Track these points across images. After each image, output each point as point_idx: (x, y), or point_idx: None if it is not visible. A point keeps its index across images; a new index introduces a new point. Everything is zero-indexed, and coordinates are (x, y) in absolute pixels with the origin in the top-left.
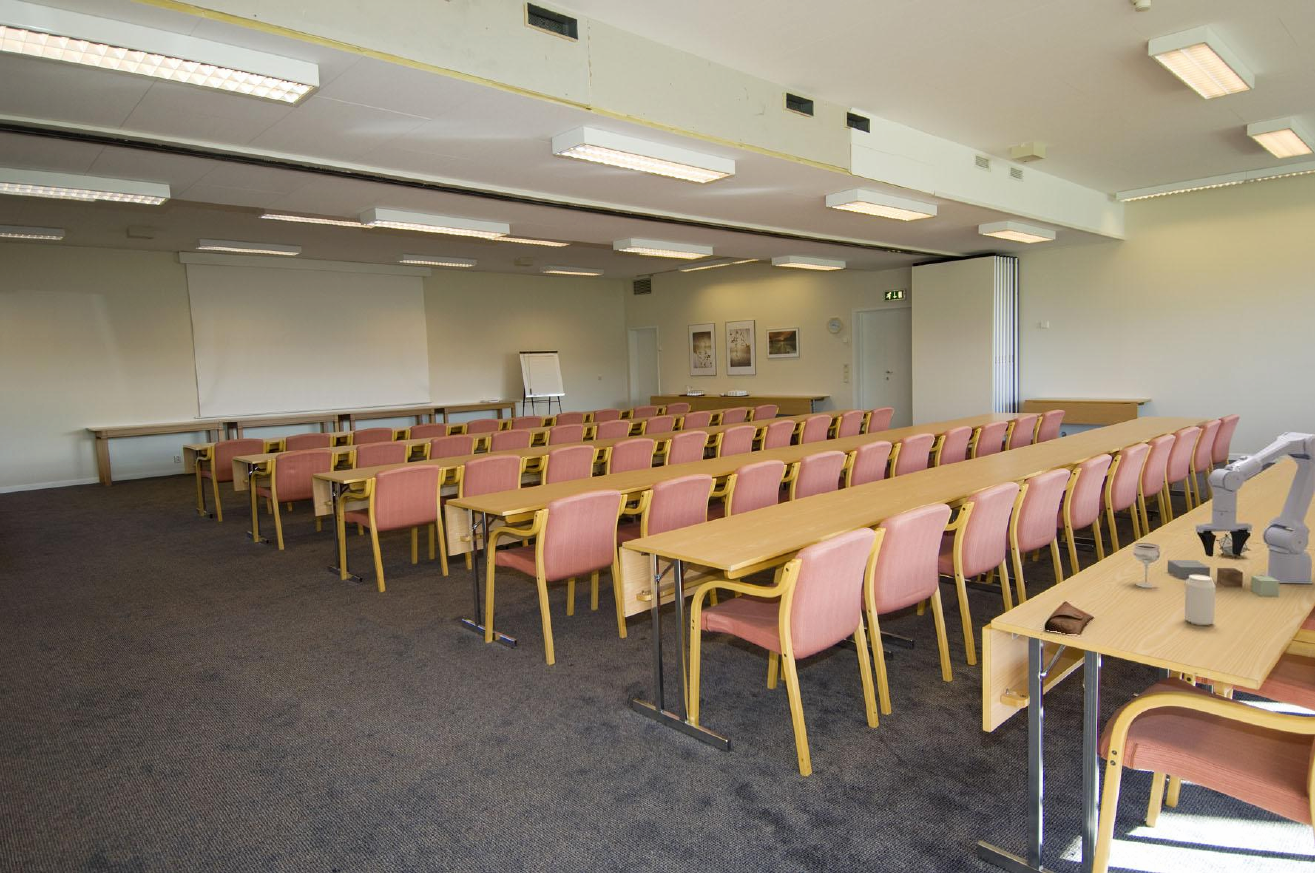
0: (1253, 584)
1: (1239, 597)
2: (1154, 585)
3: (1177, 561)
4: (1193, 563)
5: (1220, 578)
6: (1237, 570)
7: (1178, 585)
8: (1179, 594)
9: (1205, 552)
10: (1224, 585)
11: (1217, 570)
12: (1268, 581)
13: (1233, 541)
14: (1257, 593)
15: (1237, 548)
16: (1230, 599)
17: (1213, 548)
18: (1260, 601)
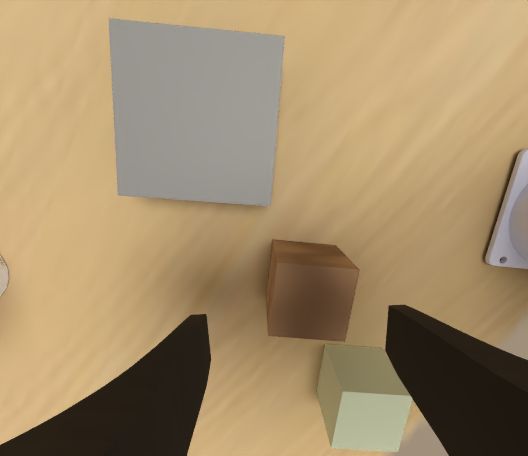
0: (330, 378)
1: (241, 404)
2: (2, 282)
3: (156, 59)
4: (227, 116)
5: (270, 276)
6: (344, 308)
7: (100, 277)
8: (61, 376)
9: (181, 324)
10: (266, 297)
11: (275, 259)
12: (358, 446)
13: (473, 379)
14: (320, 380)
15: (421, 388)
16: (201, 421)
17: (192, 433)
18: (279, 437)
